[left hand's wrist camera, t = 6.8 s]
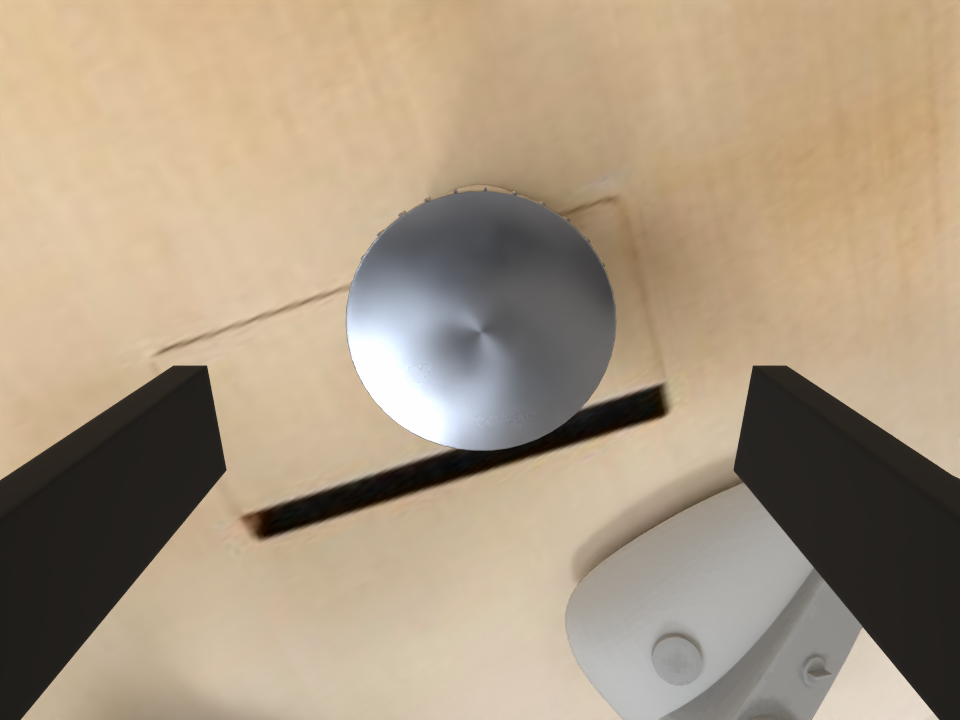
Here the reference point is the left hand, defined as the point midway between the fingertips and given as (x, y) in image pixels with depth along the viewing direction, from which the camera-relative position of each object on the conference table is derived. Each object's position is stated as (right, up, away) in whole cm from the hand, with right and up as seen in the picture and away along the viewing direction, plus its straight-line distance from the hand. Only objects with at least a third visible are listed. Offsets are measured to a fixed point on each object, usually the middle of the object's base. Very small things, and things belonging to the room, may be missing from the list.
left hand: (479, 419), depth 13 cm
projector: (+18, -14, +29) cm, 37 cm away
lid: (0, +2, +7) cm, 7 cm away
